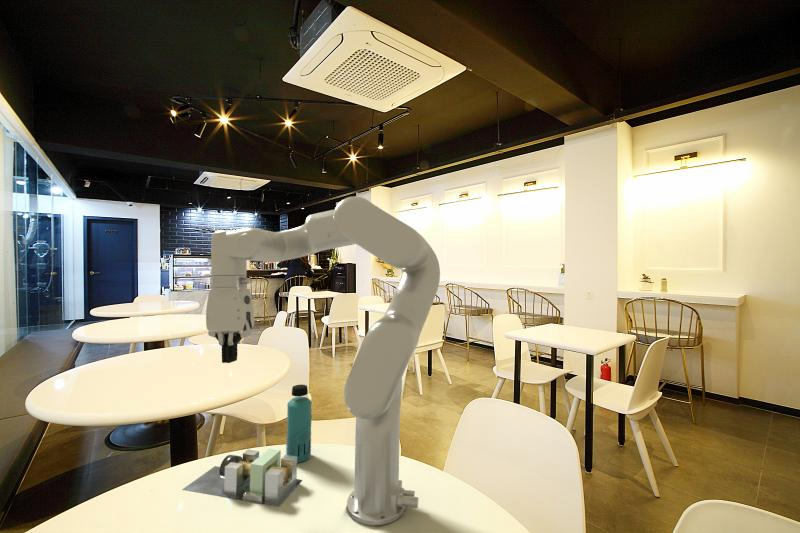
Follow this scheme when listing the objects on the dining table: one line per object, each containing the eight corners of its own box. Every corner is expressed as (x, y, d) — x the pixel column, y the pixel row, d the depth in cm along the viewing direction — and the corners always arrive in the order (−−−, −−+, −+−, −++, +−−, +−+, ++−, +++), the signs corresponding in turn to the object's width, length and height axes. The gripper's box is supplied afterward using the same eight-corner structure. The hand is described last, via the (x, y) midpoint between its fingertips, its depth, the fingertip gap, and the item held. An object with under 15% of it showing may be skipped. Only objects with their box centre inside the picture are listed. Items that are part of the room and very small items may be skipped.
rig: (302, 485, 83) (303, 455, 84) (278, 512, 74) (279, 478, 74) (214, 470, 89) (215, 442, 89) (182, 494, 79) (183, 463, 79)
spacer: (279, 480, 83) (280, 450, 83) (261, 498, 76) (262, 465, 76) (268, 478, 84) (269, 448, 84) (249, 496, 77) (250, 463, 77)
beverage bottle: (295, 472, 89) (297, 391, 89) (280, 463, 93) (281, 386, 93) (316, 461, 94) (318, 385, 95) (300, 453, 98) (302, 380, 99)
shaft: (290, 480, 81) (290, 459, 81) (278, 492, 77) (279, 470, 77) (233, 471, 85) (234, 450, 85) (218, 482, 80) (219, 461, 80)
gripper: (266, 282, 86) (267, 359, 85) (213, 283, 89) (214, 357, 88) (246, 283, 78) (247, 367, 78) (189, 284, 82) (189, 364, 81)
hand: (229, 361), depth 83 cm, fingers closed
